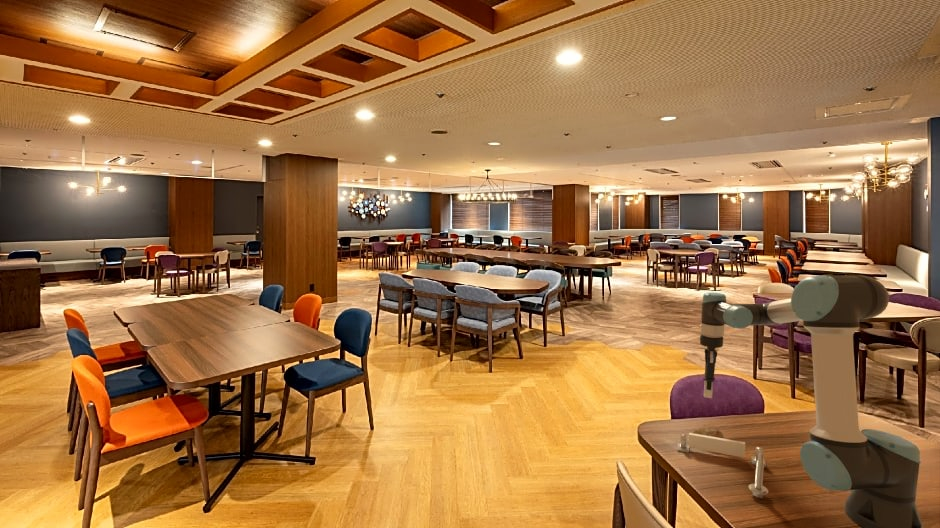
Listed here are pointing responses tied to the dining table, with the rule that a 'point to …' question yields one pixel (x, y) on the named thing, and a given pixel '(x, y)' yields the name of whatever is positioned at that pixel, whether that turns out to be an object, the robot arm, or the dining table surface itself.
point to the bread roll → (708, 431)
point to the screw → (759, 479)
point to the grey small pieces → (684, 447)
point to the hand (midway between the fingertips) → (707, 396)
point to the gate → (717, 445)
